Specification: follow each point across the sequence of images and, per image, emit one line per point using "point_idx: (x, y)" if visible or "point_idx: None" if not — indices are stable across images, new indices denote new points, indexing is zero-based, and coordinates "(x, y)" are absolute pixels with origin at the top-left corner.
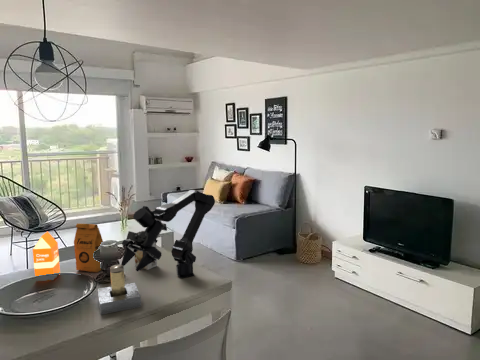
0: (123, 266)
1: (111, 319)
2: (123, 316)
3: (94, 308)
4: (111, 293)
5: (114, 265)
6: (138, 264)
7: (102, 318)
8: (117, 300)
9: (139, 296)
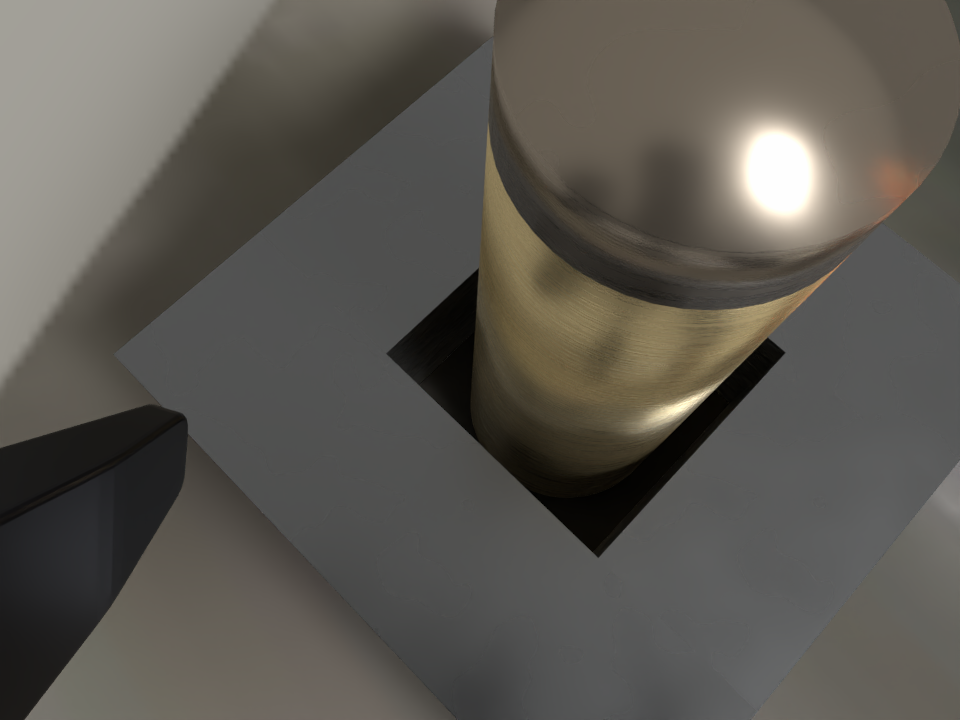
0: (528, 135)
1: (348, 34)
2: (253, 125)
3: None
4: (749, 390)
5: (920, 114)
6: (35, 484)
7: (464, 22)
8: (396, 121)
9: (130, 343)
